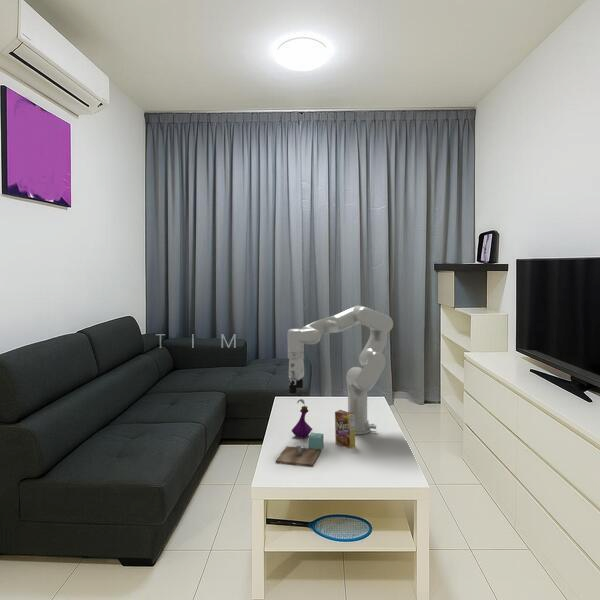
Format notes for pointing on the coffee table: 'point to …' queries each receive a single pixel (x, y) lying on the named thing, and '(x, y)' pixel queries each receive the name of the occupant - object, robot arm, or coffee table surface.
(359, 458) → the coffee table surface
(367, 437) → the coffee table surface
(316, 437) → the teal cube
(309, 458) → the plate
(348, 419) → the candy box
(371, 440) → the coffee table surface
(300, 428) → the perfume bottle
